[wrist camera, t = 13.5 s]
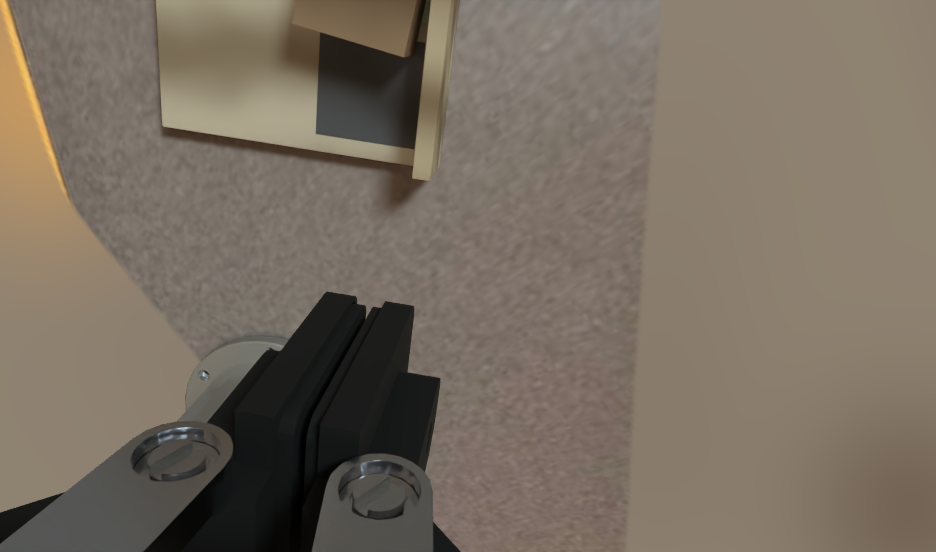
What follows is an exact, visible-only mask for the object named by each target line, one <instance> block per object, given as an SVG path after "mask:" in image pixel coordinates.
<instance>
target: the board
mask: <svg viewBox="0 0 936 552" xmlns="http://www.w3.org/2000/svg"><path fill="white" fill-rule="evenodd" d="M459 2H460V0H430V6H429V16H428V23H421V26H420V30H419V35H418V39H417V43H416V48H415V52H414V55H413V56H408V57H401V56H398V55H394V54H391V53H388V52H384V51H381V50H378V49H375V48H371V47H368V46H365V45H361V44H358V43H355V42H351V41H348V40H345V39H341V38H338V37H335V36H331V35H328V34H325V33H322V32H318V31H315V30H312V29H308V28H305V27H302V26H298V25H295V24H292V19H293V13H294V6H295V0H156V11H157V30H158V49H159V69H160V88H161V107H162V126H164V127H170V128H176V129H182V130H189V131H195V132H201V133H208V134H214V135H220V136H227V137H233V138H239V139H246V140H252V141H258V142H264V143H271V144H277V145H283V146H290V147H296V148H302V149H309V150H315V151H321V152H327V153H334V154H340V155H346V156H353V157H359V158H365V159H372V160H378V161H384V162H390V163H397V164H403V165H409V166H413V175H412V178H413V179H419V180H425V181H430V180H431V179H432V177H433V176H434V174H435V173H436V171H437V169H438V168H439V166H440V158H441V149H442V141H443V133H444V125H445V117H446V109H447V100H448V92H449V84H450V76H451V68H452V59H453V51H454V43H455V35H456V27H457V19H458V10H459Z"/></svg>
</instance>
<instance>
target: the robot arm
mask: <svg viewBox="0 0 936 552" xmlns="http://www.w3.org/2000/svg"><path fill="white" fill-rule="evenodd" d="M365 319H366V320H365ZM413 319H414V306H411V305H405V304H399V303H393V302H387V301H385V303H384V304H383V306H382V308H377V307H373V308H372V309H371V311H370V313H369V315H368V316H367V318H366V306H365V305H359V304H357V298H356V296H350V295H344V294H338V293H332V292H326V293H325V294H324V295H323V297H322V298H321V299H320V300H319V302H318V303H317V304H316V306H315V307H314V308H313V309H312V311H311V312H310V313H309V315H308V316H307V317H306V319H305V320H304V321H303V322H302V324H301V325H300V326H299V328H298V329H297V330H296V332H295V333H294V334H293V335H292V337H291V338H290V339H289V340H286V339H281V338H276V337H271V336H249V337H242V338H237V339H234V340H232V341H229V342H226V343H224V344H222V345H220V346H219V347H217V348H216V349H214V350H212V351H211V352H210V353H209V354H208V355H207V356H206V357H205V358H204V359H203V360H202V361H201V362H200V363H199V364H198V366H197V367H196V368H195V369H194V371H193V373H192V375H191V377H190V380H189V382H188V385H187V390H186V396H185V398H186V399H185V400H186V412H185V413H184V414H183V415H182V417H180V419H179V420H178V421H177V422H173V423H167V424H163V425H159V426H157V427H154V428H151V429H149V430H146V431H144V432H143V433H141V434H140V435H138V436H136V437H135V438H133V439H132V440H130V441H129V442H128V443H126V444H125V445H124V446H123V447H121V448H120V449H119V450H118V451H116V452H115V453H114V454H113V455H111V456H110V457H109V458H108V459H106V460H105V461H104V462H103V463H101V464H100V465H99V466H98V467H96V468H95V469H94V470H93V471H91V472H90V473H89V474H87V475H86V476H85V477H84V478H82V479H81V480H80V481H79V482H77V483H76V484H75V485H74V486H72V487H71V488H70V489H69V490H67V491H66V492H64V493H61V494H58V495H55V496H51V497H48V498H45V499H42V500H39V501H36V502H32V503H29V504H26V505H23V506H20V507H16V508H13V509H10V510H7V511H4V512H1V513H0V552H460V551H459V549H458V548H457V547H456V546H455V545H454V544H453V543H452V542H451V541H450V540H449V539H448V538H447V536H446V535H445V534H444V533H443V532H442V531H441V530H440V529H439V528H438V527H437V526H436V524H435V523H434V522H433V491H432V486H431V482H430V479H429V478H428V476H427V475H426V474H425V469H426V465H427V460H428V456H429V451H430V446H431V440H432V435H433V429H434V423H435V417H436V410H437V403H438V396H439V388H440V378H437V377H431V376H425V375H419V374H413V373H407V371H408V362H409V353H410V345H411V336H412V328H413Z"/></svg>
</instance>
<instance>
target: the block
mask: <svg viewBox="0 0 936 552" xmlns="http://www.w3.org/2000/svg"><path fill="white" fill-rule="evenodd" d="M425 4H426V0H295V6H294V13H293V19H292V24H295V25H298V26H302V27H305V28H308V29H312V30H315V31H318V32H322V33H325V34H328V35H331V36H335V37H338V38H341V39H345V40H348V41H351V42H355V43H358V44H361V45H365V46H368V47H371V48H375V49H378V50H381V51H384V52H388V53H391V54H394V55H398V56H401V57H408V56H413V55H414V52H415V48H416V43H417V39H418V35H419V30H420V26H421V22H422V17H423V13H424V9H425Z"/></svg>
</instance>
